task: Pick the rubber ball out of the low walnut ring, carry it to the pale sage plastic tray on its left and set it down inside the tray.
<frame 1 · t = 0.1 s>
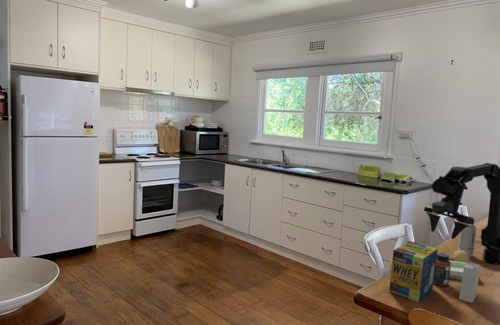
hand: (442, 235, 152), 15 cm above the table, tool pointing down, fingers open, 9 cm apart
supplement bottle: (439, 283, 144), on the table
energy drink can: (464, 255, 175), on the table
ball: (461, 257, 164), point 3 cm above the table
protein box: (411, 291, 137), on the table
holder: (460, 264, 164), on the table
skincare box: (467, 299, 132), on the table
tray: (457, 273, 154), on the table
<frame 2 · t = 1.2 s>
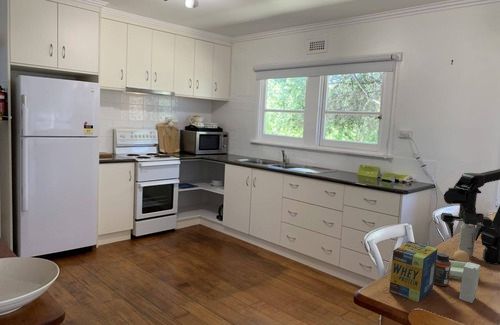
hand: (463, 239, 163), 11 cm above the table, tool pointing down, fingers open, 9 cm apart
nothing on the table moved.
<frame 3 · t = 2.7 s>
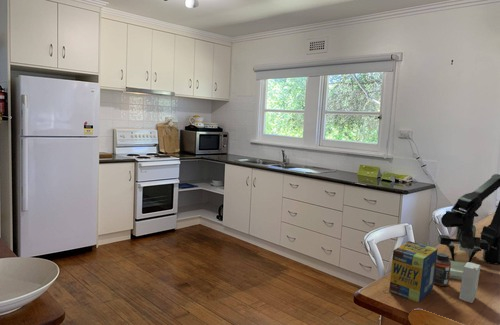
hand: (460, 261, 164), 1 cm above the table, tool pointing down, fingers closed on ball, 6 cm apart
ball: (461, 257, 164), point 3 cm above the table, touching gripper
everything else where it was.
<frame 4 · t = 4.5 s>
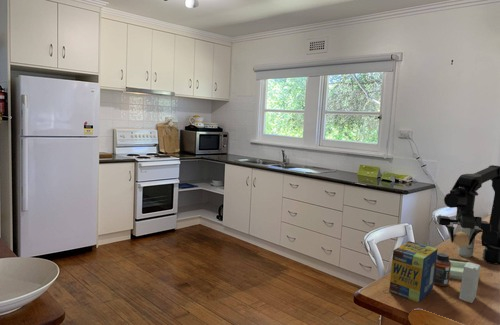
hand: (460, 243, 155), 12 cm above the table, tool pointing down, fingers closed on ball, 6 cm apart
ball: (461, 239, 155), point 13 cm above the table, touching gripper
everything else where it was.
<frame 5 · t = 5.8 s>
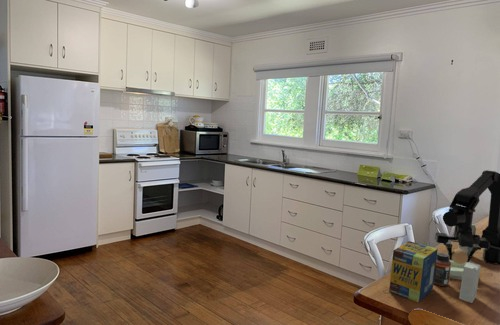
hand: (458, 260, 153), 5 cm above the table, tool pointing down, fingers closed on ball, 6 cm apart
ball: (459, 256, 153), point 7 cm above the table, touching gripper
everything else where it was.
when the fingers open (3 cm above the table, at t = 6.6 s): ball drops 1 cm, resting on tray.
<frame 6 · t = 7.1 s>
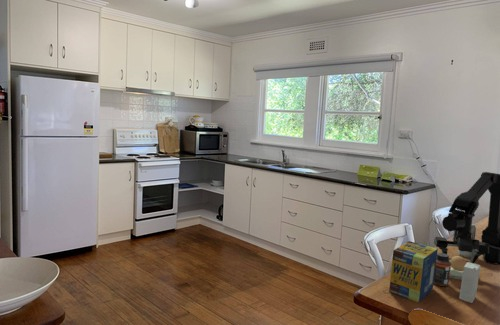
hand: (458, 265, 153), 3 cm above the table, tool pointing down, fingers open, 9 cm apart
ball: (458, 263, 153), point 4 cm above the table, touching tray
everything else where it was.
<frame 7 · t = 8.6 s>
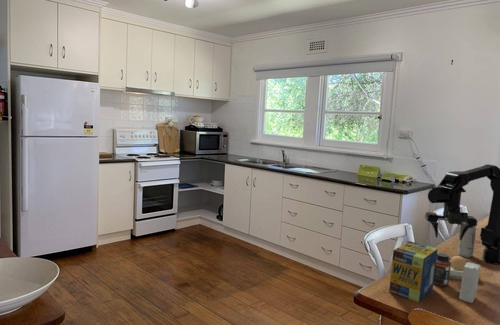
hand: (448, 238, 160), 12 cm above the table, tool pointing down, fingers open, 9 cm apart
nothing on the table moved.
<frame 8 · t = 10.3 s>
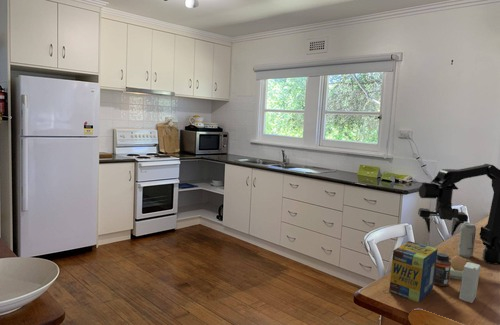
hand: (440, 233, 166), 12 cm above the table, tool pointing down, fingers open, 9 cm apart
nothing on the table moved.
at the end: ball inside the target area on the tray (0.1 cm from its centre), point 4.2 cm above the tray's base; ball moved 12.7 cm from its start; the gripper is holding nothing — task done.
